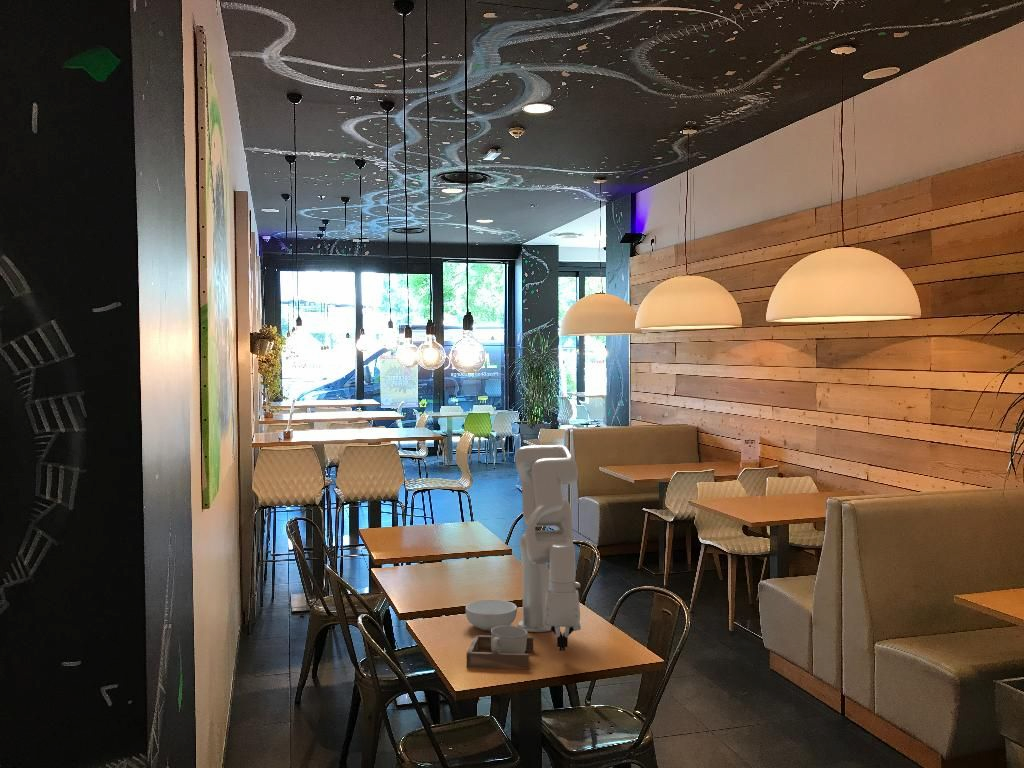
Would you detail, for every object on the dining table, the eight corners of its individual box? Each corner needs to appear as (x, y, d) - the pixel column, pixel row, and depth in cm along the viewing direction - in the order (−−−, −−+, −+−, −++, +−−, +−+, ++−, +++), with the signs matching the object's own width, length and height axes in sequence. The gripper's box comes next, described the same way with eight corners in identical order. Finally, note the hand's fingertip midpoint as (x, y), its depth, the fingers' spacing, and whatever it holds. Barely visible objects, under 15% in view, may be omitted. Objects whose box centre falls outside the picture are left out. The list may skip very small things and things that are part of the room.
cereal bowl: (455, 631, 267) (455, 609, 267) (481, 617, 282) (481, 597, 282) (501, 638, 259) (501, 616, 259) (525, 624, 274) (525, 603, 274)
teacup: (508, 648, 249) (508, 622, 249) (535, 656, 242) (535, 629, 242) (475, 660, 239) (475, 632, 239) (502, 669, 232) (502, 640, 232)
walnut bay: (475, 648, 250) (475, 635, 250) (533, 650, 248) (533, 637, 248) (466, 667, 233) (466, 653, 233) (528, 669, 232) (528, 655, 231)
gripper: (588, 583, 241) (588, 646, 242) (537, 582, 243) (537, 644, 243) (587, 590, 234) (587, 654, 234) (535, 589, 236) (535, 652, 236)
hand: (562, 649), depth 239 cm, fingers closed
